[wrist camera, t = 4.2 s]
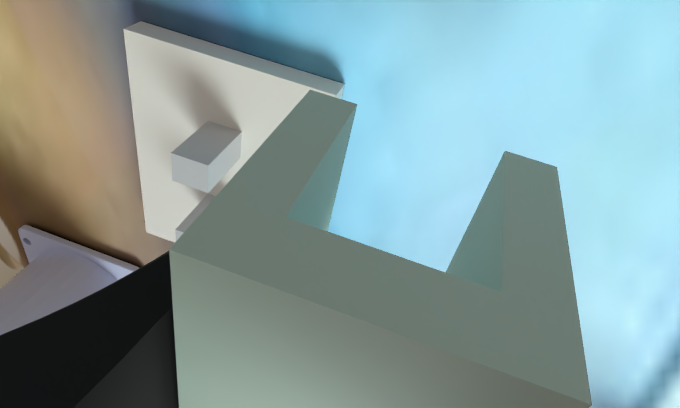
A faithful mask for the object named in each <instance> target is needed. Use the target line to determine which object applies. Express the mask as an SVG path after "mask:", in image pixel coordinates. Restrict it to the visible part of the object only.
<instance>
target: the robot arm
mask: <svg viewBox="0 0 680 408" xmlns="http://www.w3.org/2000/svg"><path fill="white" fill-rule="evenodd" d="M18 233H19V236H20V239H21V242H22V244H23V247H24V250H25V253H26V256H27V259H28V261H29V265H28V266H26V267H25V268H24V269H23V270H22V271H20V272H19V273H18V274H17V275H16V276H14V277H13V278H12V279H11V280H10V281H8V283H6V284H5V285H4V286H3V287H1V288H0V408H179V399H178V383H177V367H176V351H175V335H174V319H173V303H172V287H171V271H170V255H169V251H168V252H166V253H165V254H163V255H161V256H160V257H158V258H156V259H155V260H153V261H151V262H150V263H148V264H146V265H145V266H143V267H141V268H139V267H137V266H134V265H132V264H129V263H127V262H124V261H121V260H119V259H116V258H113V257H111V256H108V255H105V254H103V253H100V252H97V251H95V250H92V249H89V248H87V247H84V246H81V245H79V244H76V243H74V242H71V241H68V240H66V239H63V238H60V237H58V236H55V235H52V234H50V233H47V232H44V231H42V230H39V229H36V228H34V227H31V226H28V225H23V226H22V227H20V228H19V229H18Z"/></svg>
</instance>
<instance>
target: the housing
mask: <svg viewBox="0 0 680 408" xmlns="http://www.w3.org/2000/svg"><path fill="white" fill-rule="evenodd" d="M356 107H357V104H355V103H351V102H348V101H345V100H342V99H339V98H335V97H332V96H329V95H326V94H323V93H320V92H316V91H313V90H309V91H308V93H307V94H306V95H305V96H304V97H303V98H302V99H301V100H300V102H299V103H298V104H297V105H296V106H295V107H294V108H293V110H292V111H291V112H290V113H289V114H288V115H287V116H286V117H285V119H284V120H283V121H282V122H281V123H280V124H279V125H278V127H277V128H276V129H275V130H274V131H273V132H272V133H271V134H270V136H269V137H268V138H267V139H266V140H265V141H264V142H263V144H262V145H261V146H260V147H259V148H258V149H257V150H256V151H255V153H254V154H253V155H252V156H251V157H250V158H249V159H248V161H247V162H246V163H245V164H244V165H243V166H242V167H241V168H240V170H239V171H238V172H237V173H236V174H235V175H234V176H233V178H232V179H231V180H230V181H229V182H228V183H227V184H226V185H225V187H224V188H223V189H222V190H221V191H220V192H219V193H218V195H217V196H216V197H215V198H214V199H213V200H212V201H211V202H210V204H209V205H208V206H207V207H206V208H205V209H204V210H203V212H202V213H201V214H200V215H199V216H198V217H197V218H196V219H195V221H194V222H193V223H192V224H191V225H190V226H189V227H188V229H187V230H186V231H185V232H184V233H183V234H182V235H181V236H180V238H179V239H178V240H177V241H176V242H175V243H174V244H173V246H172V247H171V248H170V249H169V255H170V271H171V287H172V303H173V319H174V335H175V351H176V367H177V383H178V399H179V408H589V407H590V406H591V405H592V403H591V396H590V389H589V382H588V375H587V369H586V362H585V355H584V348H583V341H582V335H581V328H580V321H579V314H578V307H577V300H576V294H575V287H574V280H573V273H572V266H571V259H570V253H569V246H568V239H567V232H566V225H565V219H564V212H563V205H562V198H561V191H560V184H559V178H558V171H557V167H555V166H552V165H549V164H545V163H542V162H539V161H536V160H533V159H530V158H526V157H523V156H520V155H517V154H514V153H510V152H507V151H505V152H504V154H503V156H502V158H501V160H500V162H499V164H498V167H497V169H496V171H495V173H494V175H493V177H492V179H491V181H490V183H489V185H488V187H487V189H486V191H485V193H484V195H483V197H482V199H481V201H480V203H479V205H478V207H477V209H476V212H475V214H474V216H473V218H472V220H471V222H470V224H469V226H468V228H467V230H466V232H465V234H464V236H463V238H462V240H461V242H460V244H459V246H458V248H457V250H456V252H455V254H454V256H453V259H452V261H451V263H450V265H449V267H448V269H447V271H446V273H445V272H442V271H439V270H436V269H433V268H430V267H428V266H425V265H422V264H419V263H416V262H413V261H410V260H407V259H405V258H402V257H399V256H396V255H393V254H390V253H387V252H385V251H382V250H379V249H376V248H373V247H370V246H367V245H364V244H362V243H359V242H356V241H353V240H350V239H347V238H344V237H342V236H339V235H336V234H333V233H330V232H328V227H329V223H330V219H331V214H332V210H333V206H334V202H335V197H336V193H337V189H338V184H339V180H340V176H341V172H342V167H343V163H344V159H345V154H346V150H347V146H348V142H349V137H350V133H351V129H352V124H353V120H354V116H355V111H356Z"/></svg>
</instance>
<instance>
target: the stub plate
mask: <svg viewBox="0 0 680 408" xmlns="http://www.w3.org/2000/svg"><path fill="white" fill-rule="evenodd" d="M124 38H125V47H126V56H127V65H128V74H129V83H130V91H131V100H132V109H133V118H134V127H135V136H136V145H137V154H138V162H139V171H140V180H141V189H142V198H143V207H144V216H145V225H146V232H147V233H150V234H153V235H156V236H158V237H161V238H164V239H167V240H169V241H172V242H176V241H177V240H178V239H179V238H180V236H181V235H182V234H183V233H184V232H185V231H186V230H187V229H188V227H189V226H190V225H191V224H192V223H193V222H194V221H195V219H196V218H197V217H198V216H199V215H200V214H201V213H202V212H203V210H204V209H205V208H206V207H207V206H208V205H209V204H210V202H211V201H212V200H213V199H214V198H215V197H216V196H217V195H218V193H219V192H220V191H221V190H222V189H223V188H224V187H225V185H226V184H227V183H228V182H229V181H230V180H231V179H232V178H233V176H234V175H235V174H236V173H237V172H238V171H239V170H240V168H241V167H242V166H243V165H244V164H245V163H246V162H247V161H248V159H249V158H250V157H251V156H252V155H253V154H254V153H255V151H256V150H257V149H258V148H259V147H260V146H261V145H262V144H263V142H264V141H265V140H266V139H267V138H268V137H269V136H270V134H271V133H272V132H273V131H274V130H275V129H276V128H277V127H278V125H279V124H280V123H281V122H282V121H283V120H284V119H285V117H286V116H287V115H288V114H289V113H290V112H291V111H292V110H293V108H294V107H295V106H296V105H297V104H298V103H299V102H300V100H301V99H302V98H303V97H304V96H305V95H306V94H307V93H308V91H309V90H313V91H316V92H320V93H323V94H326V95H329V96H332V97H335V98H339V99H342V95H343V90H344V86H345V84H343V83H340V82H336V81H333V80H330V79H327V78H323V77H320V76H317V75H314V74H310V73H307V72H304V71H301V70H297V69H294V68H291V67H288V66H285V65H281V64H278V63H275V62H272V61H268V60H265V59H262V58H259V57H255V56H252V55H249V54H246V53H242V52H239V51H236V50H233V49H230V48H226V47H223V46H220V45H217V44H213V43H210V42H207V41H204V40H200V39H197V38H194V37H191V36H187V35H184V34H181V33H178V32H175V31H171V30H168V29H165V28H162V27H158V26H155V25H152V24H149V23H145V22H142V21H140V22H138V23H135V24H133V25H131V26H129V27H126V28H124Z"/></svg>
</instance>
